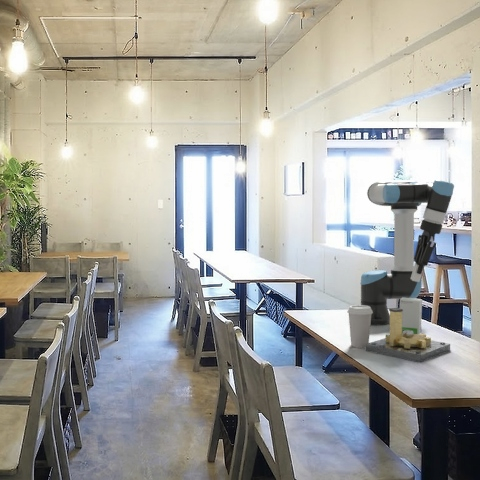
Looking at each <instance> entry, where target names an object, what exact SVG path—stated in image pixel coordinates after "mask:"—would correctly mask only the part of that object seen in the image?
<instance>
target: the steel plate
mask: <svg viewBox="0 0 480 480" xmlns="http://www.w3.org/2000/svg"><path fill="white" fill-rule="evenodd" d="M403 336H405V337H413V331H412V330H403ZM365 351H366V352H371V353H375V354H379V355H380V354H381V355H385V356H389V357H393V358H394V357H395V358H399V359H403V360H408V361H412V360H413V362H418V363H422V362H424V361H427V360H430V359H433V358H434V357H437V356H440V355H443V354H446V353H448V352H450V351H451V343H447V342H442V341H436V340H431V345H426V348H419V347H410V349H409V348H404V347H402V346H391V345H389V343H388V342H386V337H385V338H382V339H379V340H374V341H372V342H369V343H368V344H366V347H365Z"/></svg>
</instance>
